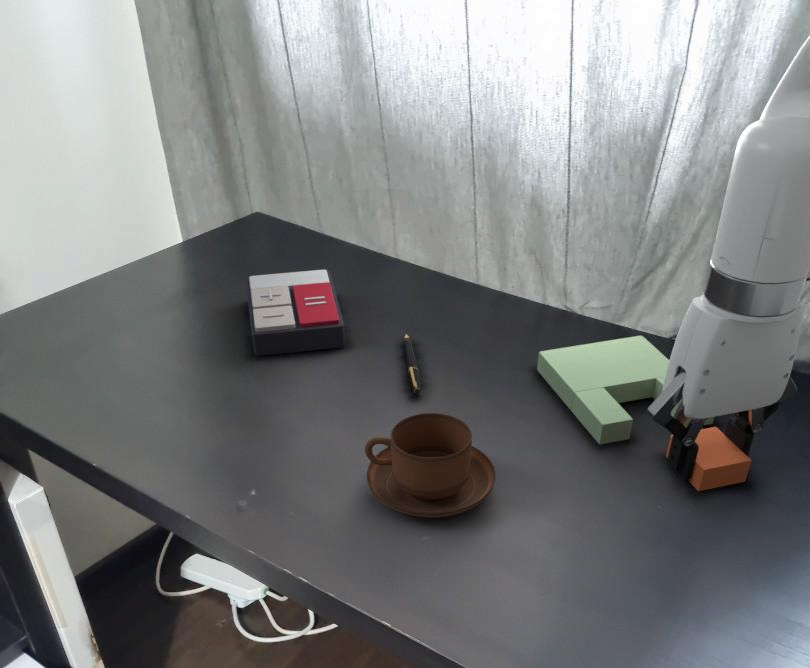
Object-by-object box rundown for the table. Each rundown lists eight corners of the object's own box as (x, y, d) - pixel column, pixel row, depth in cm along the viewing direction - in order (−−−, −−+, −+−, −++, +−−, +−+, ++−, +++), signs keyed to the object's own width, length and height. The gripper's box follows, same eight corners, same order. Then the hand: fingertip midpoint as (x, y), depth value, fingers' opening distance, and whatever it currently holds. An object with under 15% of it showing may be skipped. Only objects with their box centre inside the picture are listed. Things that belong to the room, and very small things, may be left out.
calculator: (250, 329, 96) (244, 271, 107) (255, 361, 99) (249, 302, 110) (344, 319, 97) (329, 264, 108) (346, 351, 100) (331, 294, 111)
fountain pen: (401, 339, 102) (401, 327, 101) (410, 338, 102) (410, 327, 101) (412, 399, 91) (412, 387, 90) (423, 399, 91) (423, 387, 90)
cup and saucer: (376, 536, 73) (373, 480, 69) (361, 459, 82) (357, 406, 78) (507, 522, 74) (512, 466, 70) (479, 447, 83) (481, 394, 79)
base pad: (638, 353, 98) (641, 334, 96) (712, 423, 86) (718, 404, 85) (536, 370, 95) (538, 351, 94) (599, 444, 84) (602, 424, 82)
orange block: (710, 447, 83) (716, 426, 81) (745, 481, 78) (751, 460, 77) (665, 456, 82) (670, 435, 80) (698, 491, 77) (704, 470, 76)
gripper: (813, 256, 72) (759, 431, 84) (637, 282, 69) (606, 461, 81) (872, 290, 67) (805, 472, 79) (684, 321, 63) (644, 506, 75)
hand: (705, 465), depth 80 cm, fingers closed on orange block, 5 cm apart
